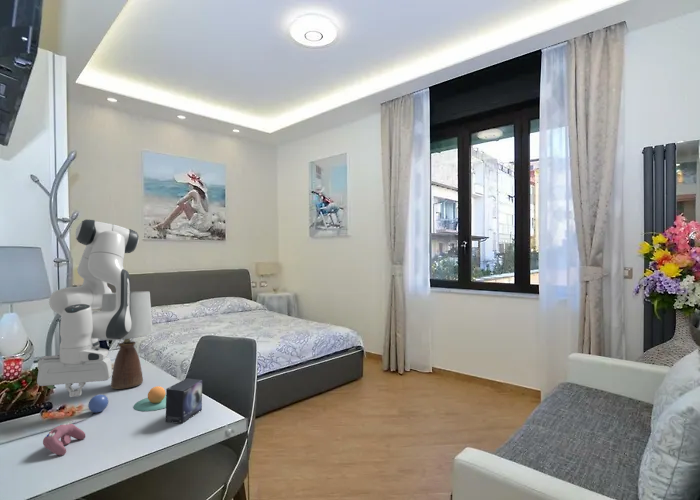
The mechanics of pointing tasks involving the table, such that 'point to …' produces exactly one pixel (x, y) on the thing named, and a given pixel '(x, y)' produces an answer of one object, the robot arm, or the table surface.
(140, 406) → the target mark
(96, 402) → the blue ball
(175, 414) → the small box
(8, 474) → the table surface
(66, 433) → the video game controller
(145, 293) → the lamp
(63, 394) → the table surface
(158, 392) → the object ball
